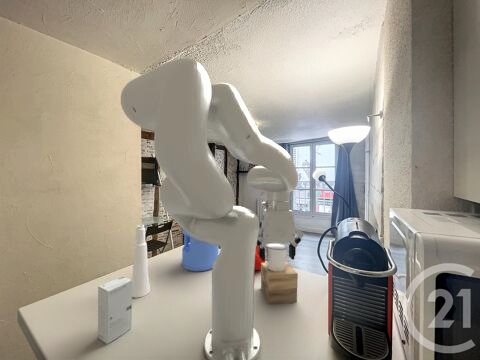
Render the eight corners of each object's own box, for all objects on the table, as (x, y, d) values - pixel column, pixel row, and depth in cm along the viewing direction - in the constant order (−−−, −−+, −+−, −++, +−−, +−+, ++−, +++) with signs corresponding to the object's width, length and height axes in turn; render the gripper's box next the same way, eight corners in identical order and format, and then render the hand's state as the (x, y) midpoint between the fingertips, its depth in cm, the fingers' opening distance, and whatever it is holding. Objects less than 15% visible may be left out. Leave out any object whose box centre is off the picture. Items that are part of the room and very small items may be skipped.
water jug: (221, 257, 96) (222, 198, 95) (214, 273, 80) (214, 202, 80) (189, 255, 97) (189, 197, 97) (175, 271, 82) (176, 201, 81)
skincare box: (107, 345, 46) (107, 292, 46) (96, 337, 48) (96, 286, 48) (133, 327, 51) (133, 279, 51) (122, 321, 53) (122, 275, 53)
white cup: (290, 271, 63) (291, 249, 63) (269, 273, 62) (269, 250, 62) (282, 262, 70) (282, 242, 70) (262, 263, 69) (263, 243, 69)
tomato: (249, 276, 78) (249, 253, 78) (235, 264, 88) (235, 243, 88) (271, 271, 83) (272, 249, 82) (256, 260, 93) (256, 240, 93)
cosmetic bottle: (144, 285, 71) (144, 222, 70) (154, 291, 67) (154, 225, 67) (126, 293, 66) (126, 225, 65) (136, 300, 62) (136, 228, 62)
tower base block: (296, 302, 63) (297, 288, 62) (268, 305, 61) (268, 290, 61) (285, 286, 71) (286, 274, 71) (261, 288, 70) (261, 275, 70)
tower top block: (297, 287, 63) (297, 273, 62) (269, 290, 61) (269, 275, 61) (285, 273, 71) (286, 261, 71) (261, 275, 70) (261, 262, 70)
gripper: (253, 207, 61) (253, 264, 61) (308, 207, 63) (307, 262, 63) (249, 204, 68) (248, 255, 69) (298, 204, 70) (297, 253, 71)
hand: (277, 258), depth 66 cm, fingers open, 9 cm apart
